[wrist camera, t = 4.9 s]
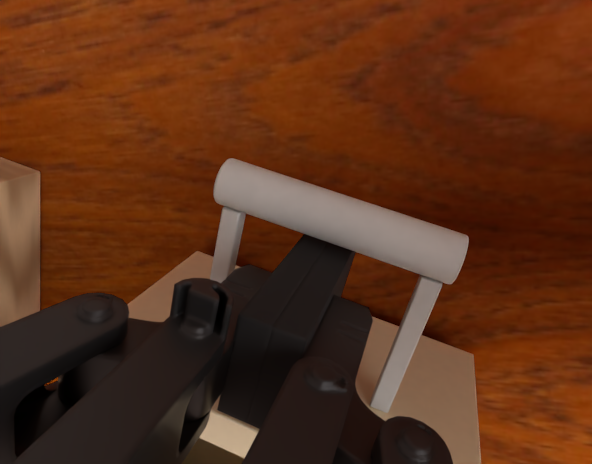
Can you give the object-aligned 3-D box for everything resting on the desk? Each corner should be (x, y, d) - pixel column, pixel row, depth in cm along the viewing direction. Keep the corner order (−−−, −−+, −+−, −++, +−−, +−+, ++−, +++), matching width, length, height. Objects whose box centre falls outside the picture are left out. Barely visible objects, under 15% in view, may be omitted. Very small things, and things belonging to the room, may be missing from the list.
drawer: (219, 112, 18) (75, 148, 11) (543, 213, 16) (614, 336, 9) (161, 468, 27) (60, 613, 20) (367, 567, 24) (334, 771, 18)
